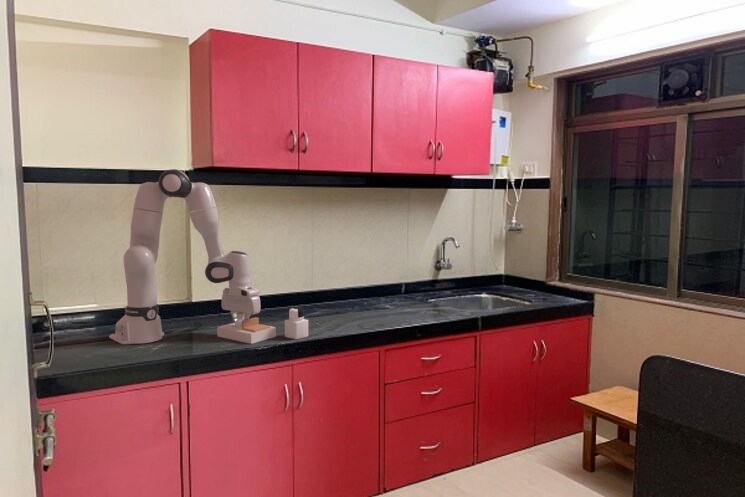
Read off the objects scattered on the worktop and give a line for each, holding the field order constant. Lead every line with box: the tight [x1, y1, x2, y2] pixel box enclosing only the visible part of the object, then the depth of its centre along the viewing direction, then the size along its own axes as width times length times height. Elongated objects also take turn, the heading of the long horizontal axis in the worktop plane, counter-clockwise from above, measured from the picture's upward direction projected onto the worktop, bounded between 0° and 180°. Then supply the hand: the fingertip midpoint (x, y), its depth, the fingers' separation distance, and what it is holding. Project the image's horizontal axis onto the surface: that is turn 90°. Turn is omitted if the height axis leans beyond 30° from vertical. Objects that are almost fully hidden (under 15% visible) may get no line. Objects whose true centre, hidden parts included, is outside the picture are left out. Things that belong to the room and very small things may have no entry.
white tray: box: [216, 322, 277, 344], centre depth 232 cm, size 20×14×4 cm
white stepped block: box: [284, 307, 309, 340], centre depth 232 cm, size 7×7×12 cm
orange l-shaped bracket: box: [242, 316, 271, 332], centre depth 228 cm, size 8×8×4 cm
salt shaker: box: [234, 312, 245, 328], centre depth 234 cm, size 4×4×10 cm
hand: (240, 322), depth 234 cm, fingers open, 5 cm apart
